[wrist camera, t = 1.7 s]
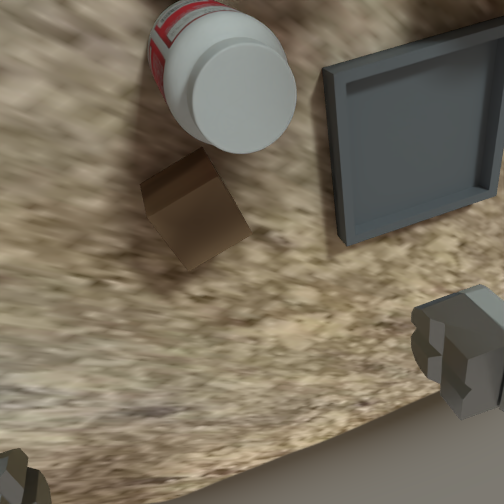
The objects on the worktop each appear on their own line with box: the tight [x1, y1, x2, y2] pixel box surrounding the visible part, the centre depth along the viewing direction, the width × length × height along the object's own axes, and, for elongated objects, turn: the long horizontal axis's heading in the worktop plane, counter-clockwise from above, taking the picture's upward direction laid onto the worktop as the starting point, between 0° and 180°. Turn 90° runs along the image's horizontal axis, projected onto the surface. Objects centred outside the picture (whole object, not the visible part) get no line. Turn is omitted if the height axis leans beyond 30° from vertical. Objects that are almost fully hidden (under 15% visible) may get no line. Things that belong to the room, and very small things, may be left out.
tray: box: [322, 16, 504, 246], centre depth 35 cm, size 14×14×2 cm
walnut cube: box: [140, 147, 252, 271], centre depth 31 cm, size 5×5×5 cm
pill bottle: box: [148, 0, 297, 154], centre depth 24 cm, size 6×6×11 cm
